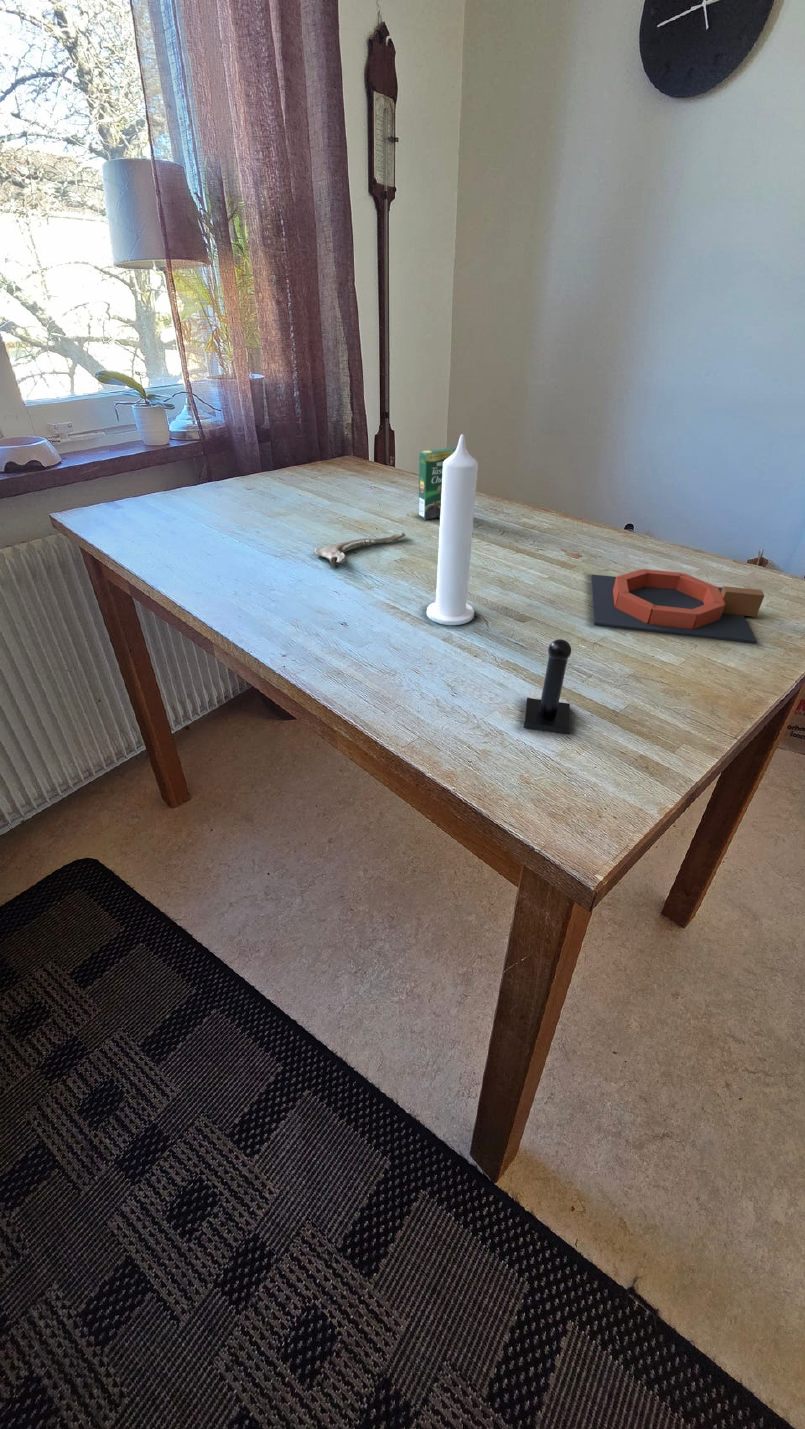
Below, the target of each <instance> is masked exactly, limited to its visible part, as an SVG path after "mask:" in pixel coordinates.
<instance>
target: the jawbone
mask: <svg viewBox="0 0 805 1429" xmlns="http://www.w3.org/2000/svg"><path fill="white" fill-rule="evenodd" d="M405 537H406V533H405V532H400V533H397V534H393V535H389V536H386V537H379V538H369V537H368V538H367V537H365V538H357V539H353V540H347V541H343V542H339V543H335V544H331V545H328V546H322V547H318V548H315V550H314V552H313V553H314V554H315V555H316V556H317V557H322V558H325V559H327V560H328V561H329V562H330V566H331V567H332V568H335V567H336V563H338V565H340V564H343V563H344V562H345V560H346V554H345V553H346V552H348V551H351V550H353V549H357V548H361V547H365V546H370V545H374V544H383V543H386V542H390V541H392V542H393V541H394V542H395V541H399V539H402V538H405Z"/></svg>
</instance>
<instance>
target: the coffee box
mask: <svg viewBox="0 0 805 1429" xmlns="http://www.w3.org/2000/svg"><path fill="white" fill-rule="evenodd" d="M456 449H457V447H454V446H449V447H443V448H436V449H429V450H421V451H419V453H418V462H419V463H418V508H417V510H418V517H419V518H420V519H423V520H424V521H426V520H432V519H437V518H440V512H441V493H442V474H443V462H444V460H445V459H447V458H448V457H450V456H451V455H452V454H453V453H454V452H455V451H456Z"/></svg>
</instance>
